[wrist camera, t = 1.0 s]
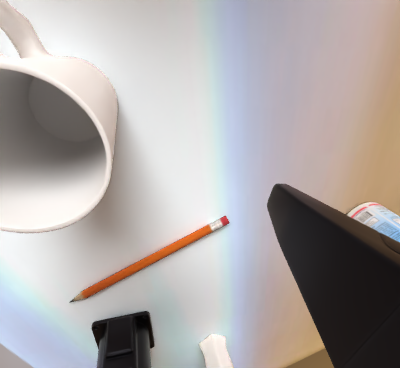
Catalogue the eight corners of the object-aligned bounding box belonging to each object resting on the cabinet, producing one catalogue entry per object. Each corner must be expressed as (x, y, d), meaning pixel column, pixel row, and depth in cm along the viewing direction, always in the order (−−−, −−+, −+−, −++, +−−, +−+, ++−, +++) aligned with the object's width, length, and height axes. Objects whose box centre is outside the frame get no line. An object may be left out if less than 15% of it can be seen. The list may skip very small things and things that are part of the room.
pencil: (227, 219, 29) (230, 224, 28) (72, 301, 29) (71, 308, 28) (224, 213, 28) (227, 218, 28) (67, 296, 29) (65, 303, 28)
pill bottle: (339, 248, 35) (420, 326, 25) (336, 212, 32) (426, 285, 22) (381, 230, 35) (477, 300, 26) (382, 192, 32) (492, 256, 22)
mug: (135, 128, 22) (138, 200, 12) (56, 156, 22) (-10, 255, 12) (72, -17, 18) (-13, -107, 7) (-30, 16, 17) (-280, -28, 7)
